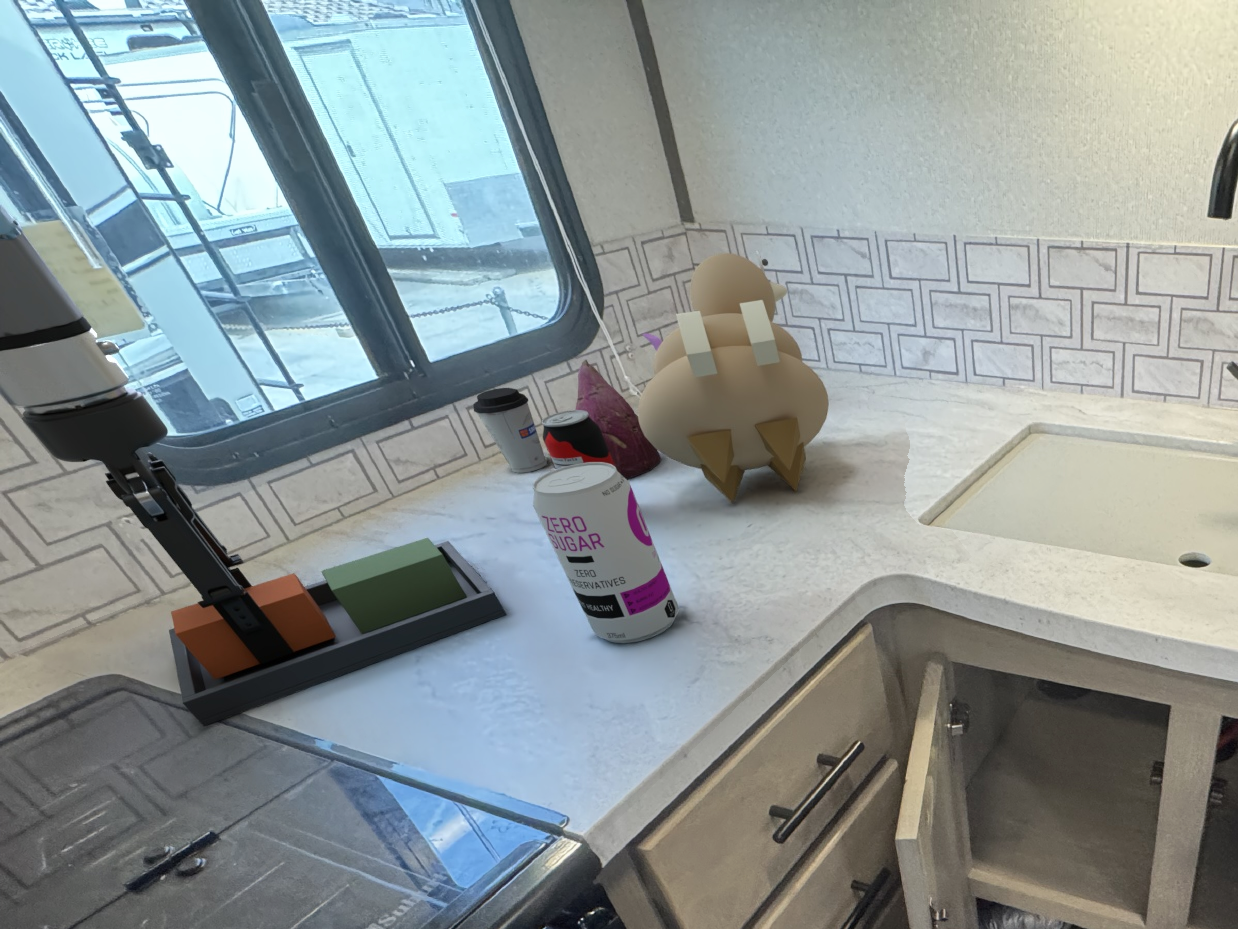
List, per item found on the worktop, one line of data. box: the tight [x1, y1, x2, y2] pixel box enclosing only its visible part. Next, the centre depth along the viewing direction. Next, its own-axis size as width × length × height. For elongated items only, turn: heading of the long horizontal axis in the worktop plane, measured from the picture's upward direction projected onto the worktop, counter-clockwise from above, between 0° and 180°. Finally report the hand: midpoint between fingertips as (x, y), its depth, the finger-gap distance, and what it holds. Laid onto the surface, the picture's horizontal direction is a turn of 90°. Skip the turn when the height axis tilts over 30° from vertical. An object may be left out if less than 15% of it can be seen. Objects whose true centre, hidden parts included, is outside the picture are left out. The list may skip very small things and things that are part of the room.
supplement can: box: [532, 462, 680, 644], centre depth 79 cm, size 8×8×15 cm
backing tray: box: [168, 540, 507, 727], centre depth 85 cm, size 18×26×3 cm
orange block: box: [170, 573, 336, 679], centre depth 80 cm, size 6×10×5 cm, turn 132°
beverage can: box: [541, 409, 615, 470], centre depth 101 cm, size 6×6×12 cm
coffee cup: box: [473, 387, 548, 474], centre depth 116 cm, size 7×7×10 cm
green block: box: [321, 537, 467, 634], centre depth 87 cm, size 6×10×5 cm, turn 132°
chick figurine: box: [637, 250, 830, 504], centre depth 102 cm, size 30×28×23 cm
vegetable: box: [574, 359, 662, 480], centre depth 114 cm, size 10×10×15 cm
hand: (271, 644), depth 82 cm, fingers closed on orange block, 6 cm apart
